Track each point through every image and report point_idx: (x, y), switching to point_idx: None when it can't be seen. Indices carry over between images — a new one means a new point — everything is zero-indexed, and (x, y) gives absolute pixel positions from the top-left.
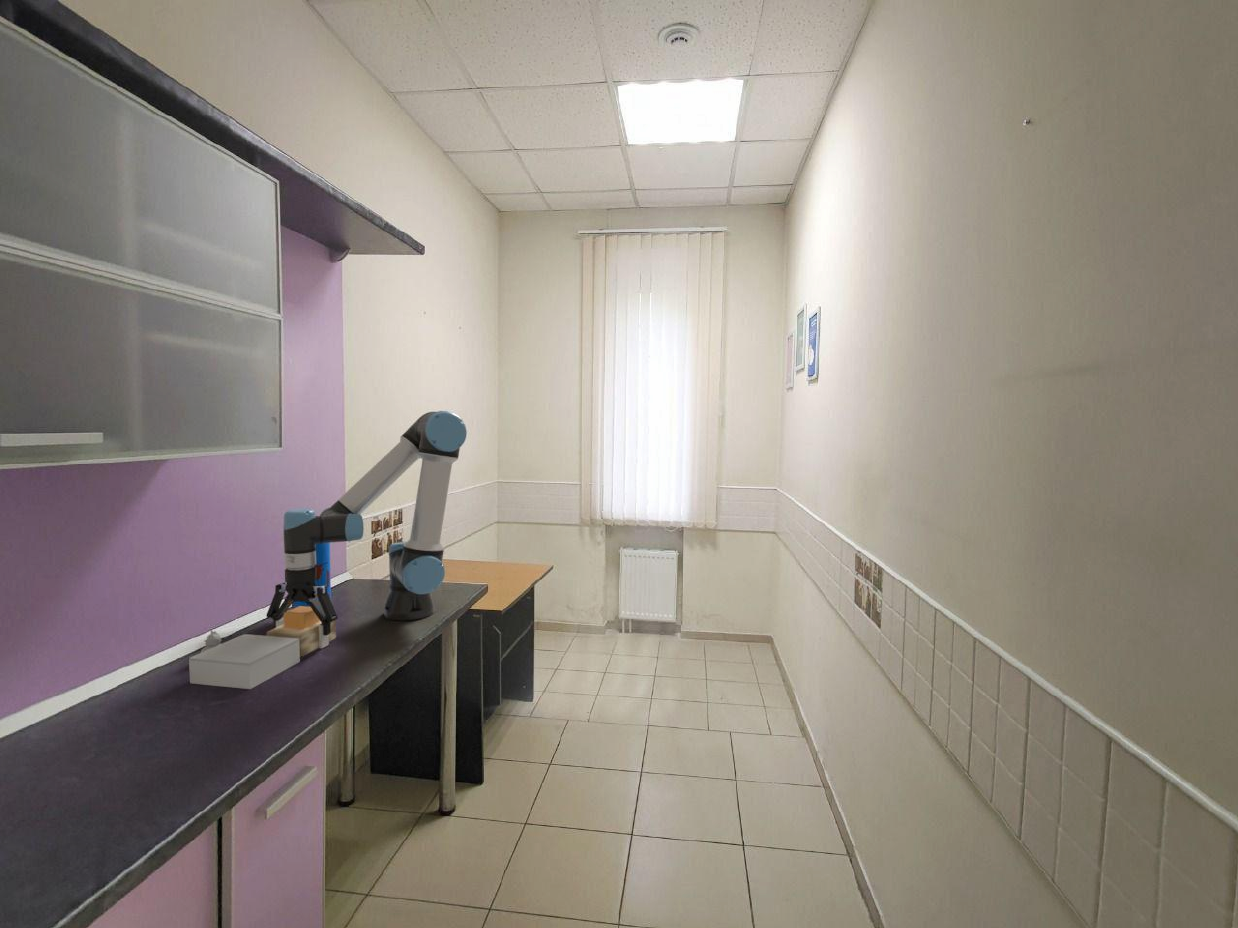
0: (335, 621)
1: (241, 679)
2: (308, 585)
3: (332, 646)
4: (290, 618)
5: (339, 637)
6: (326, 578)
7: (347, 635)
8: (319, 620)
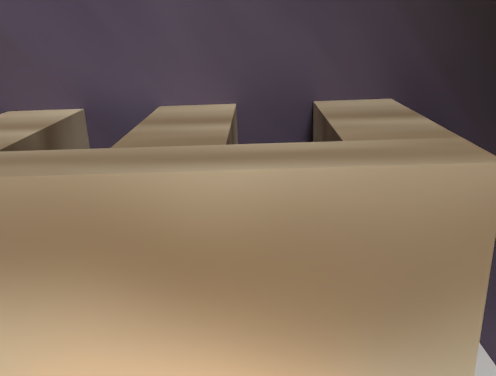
0: (467, 142)
1: None
2: None
3: (489, 301)
4: None
5: (426, 84)
6: None
7: (484, 3)
8: (315, 357)
